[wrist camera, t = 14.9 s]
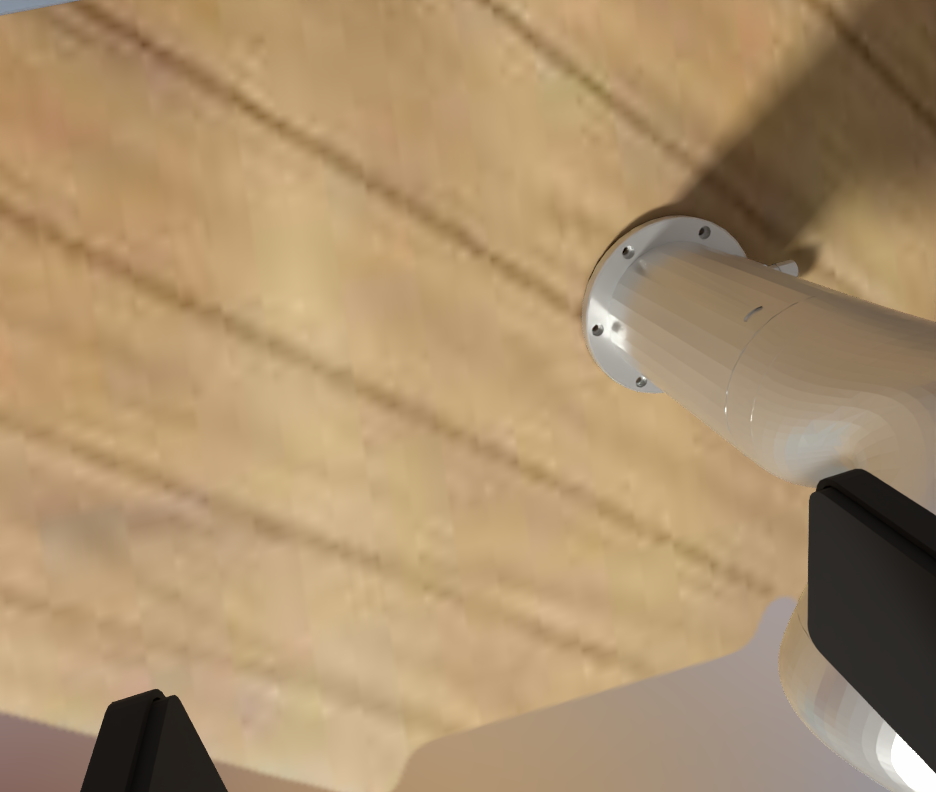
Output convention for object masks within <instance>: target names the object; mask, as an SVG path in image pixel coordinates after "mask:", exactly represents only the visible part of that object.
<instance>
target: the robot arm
mask: <svg viewBox="0 0 936 792" xmlns="http://www.w3.org/2000/svg"><path fill="white" fill-rule="evenodd" d="M700 229H701V231H700V233H699V230H700ZM624 248H626V251H625V253H623V254H622V252H623V250H624ZM798 272H799V271H798V266H797V264H796V262H795V261H793V260H787V261H783V262H779V263H776V264H772V265H771V266H768V267H767V265H766V264H763V263H760V262H757V261H754V260H751V259H748V258H747V257H746V254H745V252H744V250H743V249H742V247H741V246H740V244H739V243H738V241H737V240H736V239H735V238H734V237H733V236H732V235H731V234H730V233H729V232H727V231H726V230H725V229H723V228H722V227H720V226H718V225H716V224H715V223H713V222H710V221H707V220H704V219H701V218H696V217H691V216H685V215H678V216H665V217H661V218H657V219H653V220H650V221H648V222H646V223H644V224H641V225H639V226H637V227H635V228H633V229H632V230H631V231H629V232H628V233H626V234H625V235H624V236H622V237H621V238H619V239H618V240H617V241H616V242H615V243H614V244H613V245H612V247H611V248H610V249H609V250H608V251H607V252H606V253H605V254H604V256H603V257H602V259H601V260H600V262H599V263H598V264H597V266H596V267H595V270H594V272H593V274H592V276H591V278H590V280H589V282H588V285H587V288H586V292H585V295H584V299H583V307H582V317H581V318H582V329H583V336H584V339H585V342H586V346H587V349H588V351H589V352H590V354H591V356H592V358H593V360H594V362H595V363H596V364H597V365H598V366H599V367H600V369H601V370H602V371H603V372H604V373H605V374H606V375H608V376H609V377H610V378H611V379H612V380H613V381H615V382H617V383H618V384H620V385H622V386H624V387H625V388H628V389H631V390H634V391H637V392H642V393H653V394H656V393H666V394H667V395H669V396H670V397H671V398H672V399H674V400H675V401H676V402H677V403H679V404H680V405H681V406H683V407H684V408H685V409H686V410H688V411H689V412H690V413H692V414H693V415H694V416H695V417H697V418H698V419H699V420H700V421H702V422H703V423H704V424H706V425H707V426H708V427H709V428H711V429H712V430H713V431H715V432H716V433H717V434H718V435H720V436H721V437H722V438H723V439H725V440H726V441H727V442H729V443H730V444H731V445H732V446H734V447H735V448H736V449H738V450H739V451H740V452H741V453H743V454H744V455H745V456H747V457H748V458H749V459H751V460H752V461H753V462H755V463H756V464H757V465H759V466H760V467H761V468H763V469H764V470H766V471H767V472H769V473H770V474H772V475H774V476H776V477H778V478H780V479H782V480H785V481H787V482H790V483H793V484H797V485H801V486H806V487H811V488H816V492H814V493H812V494H811V496H810V499H809V548H808V582H807V584H806V586H805V588H804V590H803V592H802V594H801V596H800V598H799V601H798V604H797V606H796V608H795V610H794V612H793V614H792V616H791V618H790V621H789V623H788V626H787V628H786V631H785V633H784V636H783V639H782V643H781V646H780V652H779V662H778V663H779V676H780V680H781V684H782V687H783V690H784V692H785V695H786V697H787V699H788V701H789V702H790V704H791V706H792V708H793V709H794V711H795V712H796V714H797V715H798V716H799V718H800V719H801V720H802V721H803V723H804V724H805V725H806V726H807V727H808V728H809V729H810V731H811V732H812V733H813V734H814V735H815V736H816V737H817V738H818V739H819V740H820V741H822V742H823V743H824V744H825V745H826V746H827V747H828V748H829V749H830V750H832V751H833V752H834V753H835V754H837V755H838V756H839V757H841V758H842V759H843V760H844V761H846V762H847V763H848V764H850V765H851V766H853V767H854V768H856V769H857V770H859V771H860V772H862V773H863V774H864V775H866V776H868V777H869V778H870V779H872V780H873V781H875V782H876V783H878V784H880V785H882V786H883V787H885V788H886V789H888V790H890V791H891V792H936V322H934V321H931V320H927V319H924V318H920V317H917V316H914V315H910V314H907V313H903V312H900V311H897V310H893V309H890V308H887V307H884V306H881V305H878V304H875V303H872V302H869V301H866V300H863V299H860V298H857V297H854V296H850V295H847V294H845V293H842V292H839V291H836V290H833V289H830V288H827V287H824V286H821V285H818V284H815V283H813V282H810V281H807V280H804V279H801V278H798V277H797V276H798ZM595 325H596V327H595V329H593V330H592V328H593V327H594V326H595ZM80 792H228V791H227V789H226V787H225V785H224V784H223V782H222V780H221V778H220V776H219V774H218V772H217V770H216V768H215V766H214V764H213V762H212V760H211V758H210V757H209V755H208V753H207V751H206V749H205V747H204V745H203V743H202V741H201V739H200V737H199V735H198V734H197V732H196V730H195V728H194V726H193V724H192V722H191V720H190V718H189V716H188V714H187V712H186V711H185V709H184V707H183V705H182V703H181V701H180V700H179V698H178V697H177V696H175V695H172V696H169V697H165V696H164V694H163V693H162V692H161V691H160V690H158V689H153V690H150V691H147V692H144V693H141V694H137V695H134V696H131V697H128V698H125V699H122V700H118V701H115V702H112V703H111V704H110V705H109V706H108V708H107V710H106V712H105V715H104V719H103V722H102V725H101V728H100V731H99V734H98V737H97V741H96V744H95V747H94V750H93V754H92V757H91V759H90V763H89V766H88V769H87V772H86V775H85V778H84V782H83V785H82V788H81V791H80Z"/></svg>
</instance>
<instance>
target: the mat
mask: <svg viewBox="0 0 936 792" xmlns="http://www.w3.org/2000/svg"><path fill="white" fill-rule="evenodd" d="M73 1H78V0H0V15H5V14H11V13H16V12H21V11H26V10H32V9H37V8H42V7H47V6H52V5H58V4H63V3H68V2H73Z"/></svg>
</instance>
